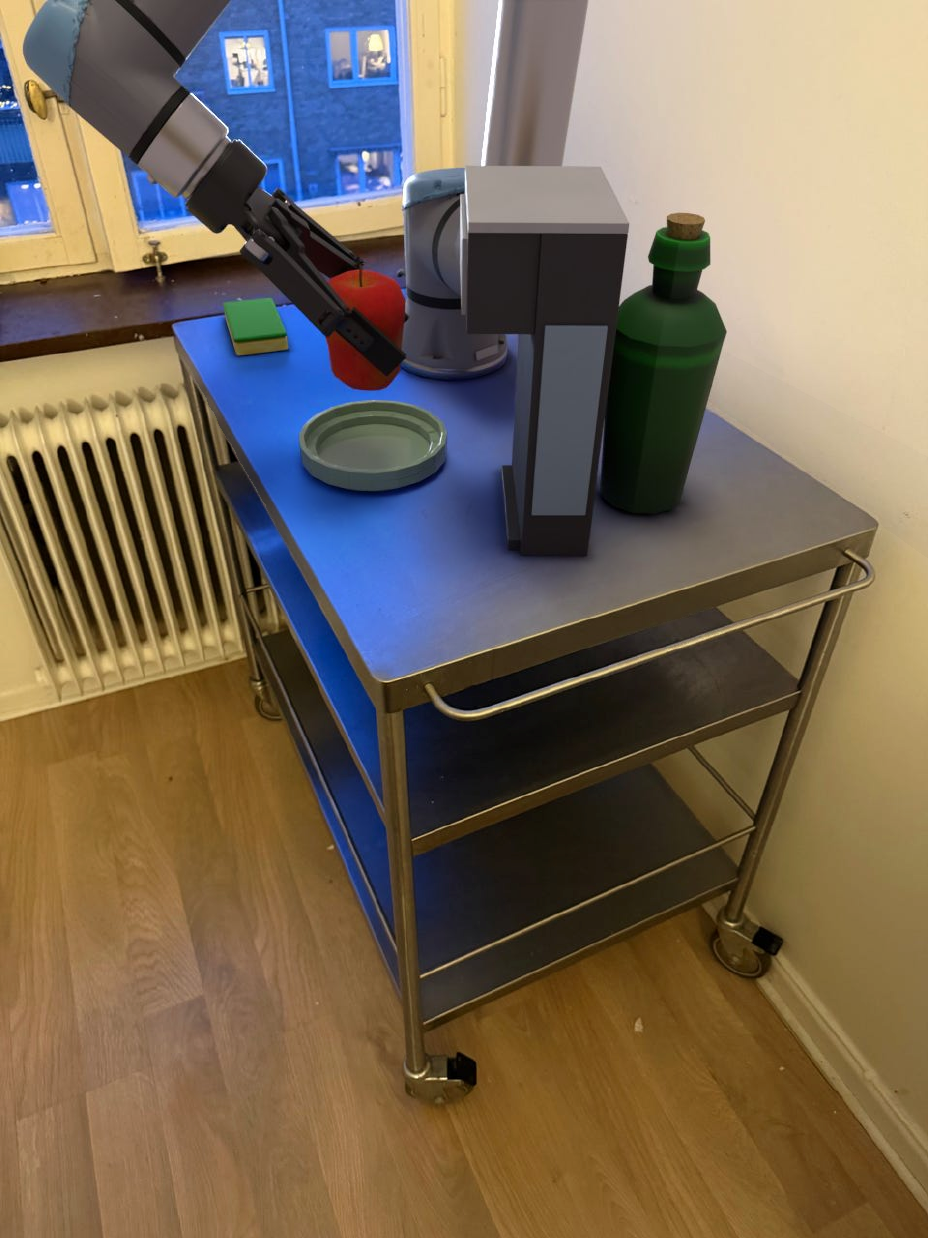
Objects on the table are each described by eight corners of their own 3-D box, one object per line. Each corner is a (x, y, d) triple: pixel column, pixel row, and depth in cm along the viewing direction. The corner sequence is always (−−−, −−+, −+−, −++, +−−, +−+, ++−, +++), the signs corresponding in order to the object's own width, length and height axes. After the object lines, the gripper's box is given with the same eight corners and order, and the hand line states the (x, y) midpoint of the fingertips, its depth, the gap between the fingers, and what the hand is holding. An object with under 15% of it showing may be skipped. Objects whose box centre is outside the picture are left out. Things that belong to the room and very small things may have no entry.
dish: (280, 444, 101) (276, 420, 99) (404, 411, 107) (403, 388, 105) (339, 512, 91) (336, 488, 89) (473, 471, 97) (473, 447, 95)
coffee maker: (459, 558, 85) (463, 223, 65) (458, 469, 97) (460, 165, 77) (587, 558, 85) (630, 224, 65) (569, 469, 98) (601, 166, 77)
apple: (316, 371, 92) (303, 255, 84) (392, 358, 94) (387, 244, 86) (339, 407, 86) (328, 286, 78) (420, 393, 88) (417, 274, 80)
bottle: (696, 479, 96) (755, 207, 78) (682, 532, 89) (743, 244, 70) (601, 461, 99) (635, 194, 81) (578, 511, 91) (611, 229, 73)
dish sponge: (236, 356, 119) (233, 339, 117) (225, 317, 129) (222, 301, 127) (289, 350, 120) (287, 333, 119) (274, 312, 130) (272, 296, 129)
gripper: (206, 169, 86) (378, 327, 97) (152, 241, 70) (366, 421, 81) (252, 108, 83) (425, 279, 94) (207, 168, 67) (422, 367, 78)
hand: (398, 345), depth 87 cm, fingers closed on apple, 9 cm apart
